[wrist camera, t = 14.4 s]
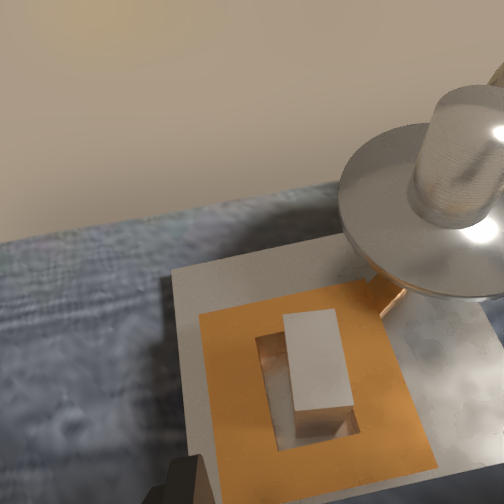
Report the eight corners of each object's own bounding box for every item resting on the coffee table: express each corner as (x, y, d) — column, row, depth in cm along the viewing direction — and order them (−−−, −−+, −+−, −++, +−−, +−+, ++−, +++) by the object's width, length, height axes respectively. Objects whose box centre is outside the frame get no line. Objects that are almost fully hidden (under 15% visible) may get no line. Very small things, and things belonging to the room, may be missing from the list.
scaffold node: (452, 193, 36) (541, 18, 23) (599, 440, 25) (935, 380, 12) (173, 253, 35) (99, 111, 22) (201, 530, 25) (88, 572, 11)
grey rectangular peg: (323, 365, 28) (334, 308, 19) (335, 434, 25) (354, 405, 17) (287, 369, 28) (282, 314, 19) (296, 438, 25) (295, 411, 17)
